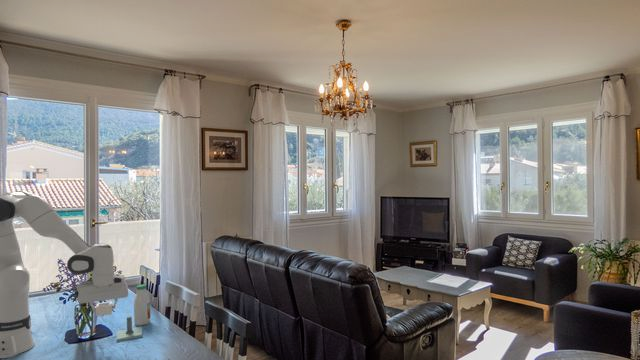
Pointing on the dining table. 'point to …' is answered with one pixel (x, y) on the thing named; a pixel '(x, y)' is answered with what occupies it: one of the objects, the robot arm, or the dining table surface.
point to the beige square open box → (103, 308)
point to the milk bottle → (141, 306)
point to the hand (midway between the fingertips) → (104, 309)
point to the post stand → (129, 332)
